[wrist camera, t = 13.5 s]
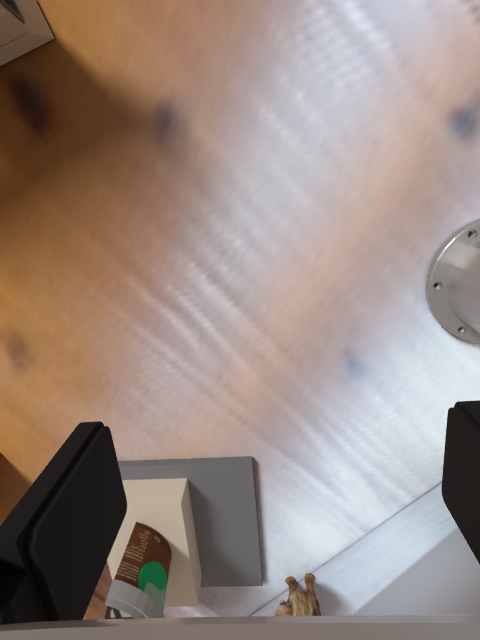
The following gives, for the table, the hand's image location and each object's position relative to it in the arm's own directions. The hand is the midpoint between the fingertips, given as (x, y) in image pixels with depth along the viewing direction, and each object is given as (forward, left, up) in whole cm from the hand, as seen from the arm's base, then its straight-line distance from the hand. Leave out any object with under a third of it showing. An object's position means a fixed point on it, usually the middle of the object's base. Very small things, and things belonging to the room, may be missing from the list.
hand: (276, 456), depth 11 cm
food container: (+15, +33, -25) cm, 44 cm away
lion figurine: (-2, +46, -31) cm, 55 cm away
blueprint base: (+13, +34, -30) cm, 47 cm away
